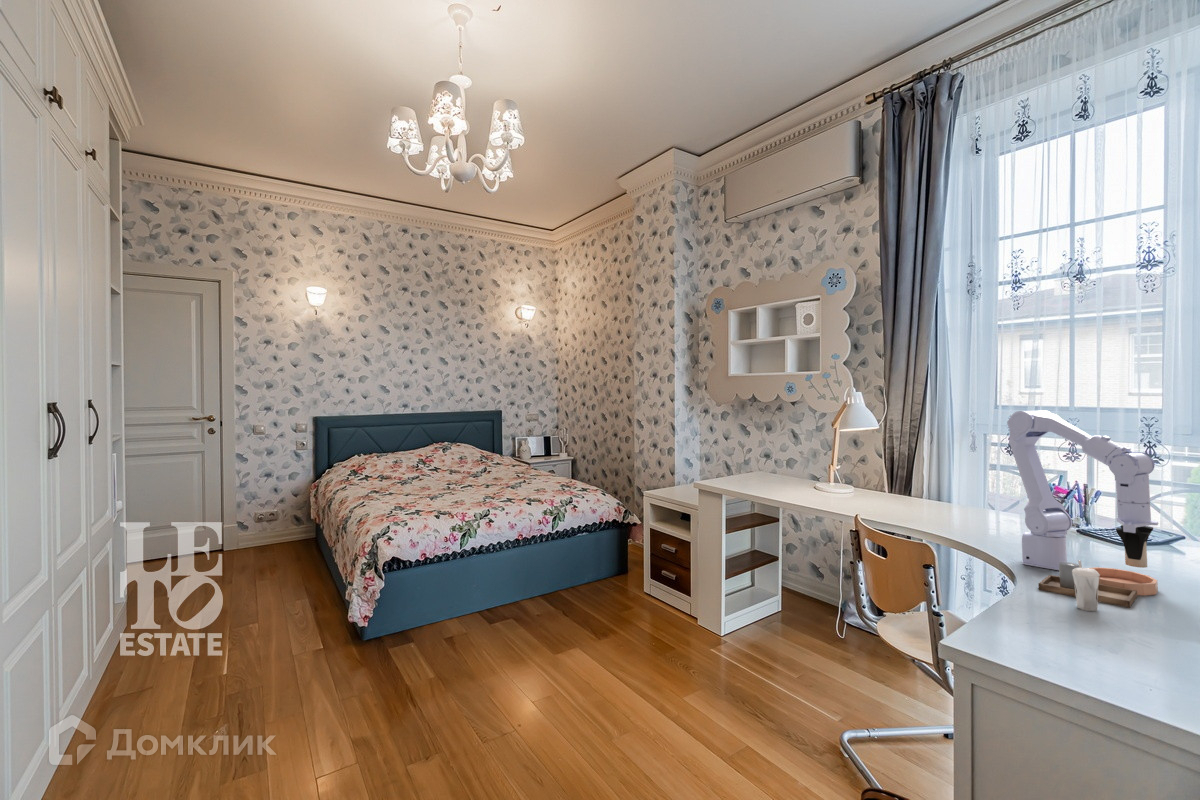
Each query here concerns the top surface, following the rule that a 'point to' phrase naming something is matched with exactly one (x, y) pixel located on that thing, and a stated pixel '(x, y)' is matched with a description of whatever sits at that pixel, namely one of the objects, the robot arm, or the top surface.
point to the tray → (1104, 592)
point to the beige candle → (1138, 563)
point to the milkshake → (1086, 587)
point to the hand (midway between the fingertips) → (1135, 557)
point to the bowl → (1128, 580)
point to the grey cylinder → (1067, 574)
